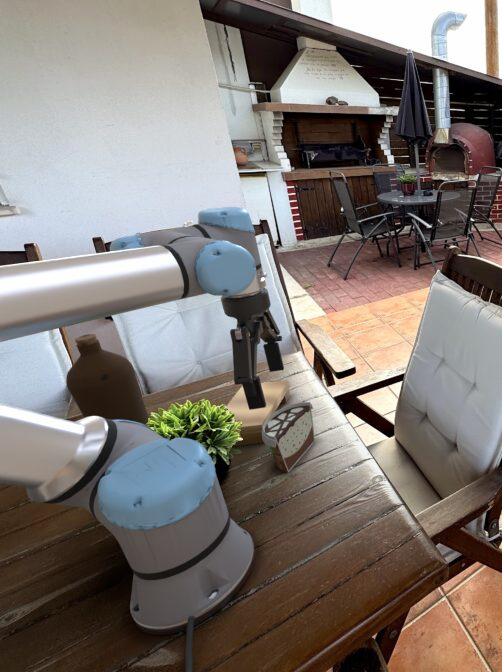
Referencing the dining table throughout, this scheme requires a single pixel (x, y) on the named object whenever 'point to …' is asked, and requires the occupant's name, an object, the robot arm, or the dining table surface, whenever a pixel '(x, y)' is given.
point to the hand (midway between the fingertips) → (268, 387)
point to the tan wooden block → (257, 410)
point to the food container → (289, 434)
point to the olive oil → (105, 384)
